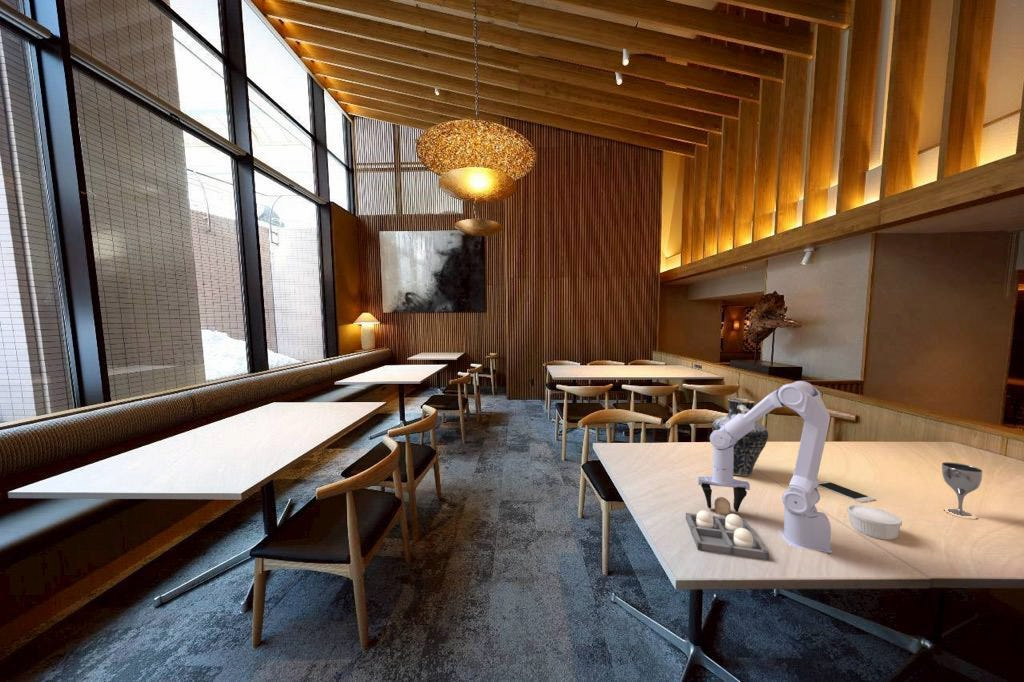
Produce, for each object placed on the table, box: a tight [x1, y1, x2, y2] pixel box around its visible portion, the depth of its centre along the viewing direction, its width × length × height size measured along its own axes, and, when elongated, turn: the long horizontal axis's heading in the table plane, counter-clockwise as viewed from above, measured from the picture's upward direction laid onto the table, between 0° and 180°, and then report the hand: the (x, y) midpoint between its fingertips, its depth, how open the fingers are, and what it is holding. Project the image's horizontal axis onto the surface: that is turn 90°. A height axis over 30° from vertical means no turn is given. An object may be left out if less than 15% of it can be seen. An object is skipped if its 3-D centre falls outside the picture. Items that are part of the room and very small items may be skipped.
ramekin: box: [846, 504, 903, 541], centre depth 104 cm, size 11×11×5 cm
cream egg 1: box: [696, 509, 713, 529], centre depth 105 cm, size 4×4×5 cm
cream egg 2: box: [725, 513, 743, 531], centre depth 103 cm, size 4×4×5 cm
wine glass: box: [941, 461, 983, 516], centre depth 113 cm, size 8×8×15 cm
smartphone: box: [818, 480, 877, 504], centre depth 129 cm, size 7×16×1 cm, turn 15°
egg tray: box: [685, 512, 770, 561], centre depth 100 cm, size 16×16×2 cm
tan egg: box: [714, 496, 731, 516], centre depth 114 cm, size 4×4×5 cm
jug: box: [711, 397, 769, 477], centre depth 146 cm, size 21×19×30 cm
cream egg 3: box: [734, 528, 753, 549], centre depth 95 cm, size 4×4×5 cm
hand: (722, 508), depth 115 cm, fingers open, 7 cm apart
